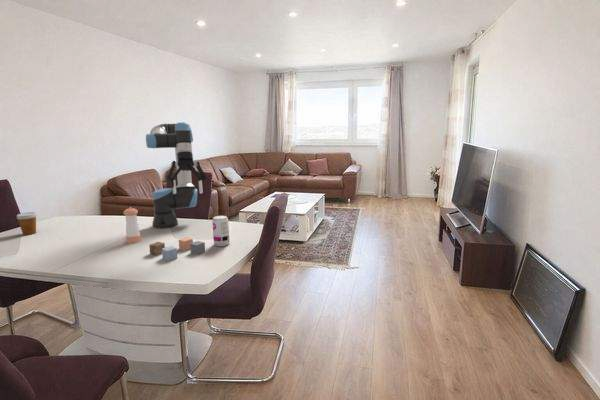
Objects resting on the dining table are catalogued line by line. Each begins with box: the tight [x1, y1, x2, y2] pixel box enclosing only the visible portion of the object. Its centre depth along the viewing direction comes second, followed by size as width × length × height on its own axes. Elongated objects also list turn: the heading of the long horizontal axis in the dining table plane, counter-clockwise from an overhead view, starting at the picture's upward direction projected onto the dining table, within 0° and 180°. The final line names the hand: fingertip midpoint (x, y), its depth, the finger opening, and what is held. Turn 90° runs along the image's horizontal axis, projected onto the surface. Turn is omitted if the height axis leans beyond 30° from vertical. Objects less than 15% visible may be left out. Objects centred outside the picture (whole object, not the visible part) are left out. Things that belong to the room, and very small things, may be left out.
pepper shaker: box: [123, 206, 142, 244], centre depth 192 cm, size 7×7×19 cm
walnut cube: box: [148, 241, 166, 257], centre depth 175 cm, size 5×5×5 cm
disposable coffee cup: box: [16, 211, 37, 236], centre depth 208 cm, size 10×10×12 cm
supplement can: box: [211, 215, 230, 247], centre depth 186 cm, size 8×8×15 cm
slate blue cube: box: [161, 245, 178, 262], centre depth 168 cm, size 5×5×5 cm
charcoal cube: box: [189, 240, 206, 256], centre depth 175 cm, size 5×5×5 cm
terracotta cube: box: [178, 237, 194, 252], centre depth 182 cm, size 5×5×5 cm
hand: (188, 193), depth 178 cm, fingers open, 13 cm apart
